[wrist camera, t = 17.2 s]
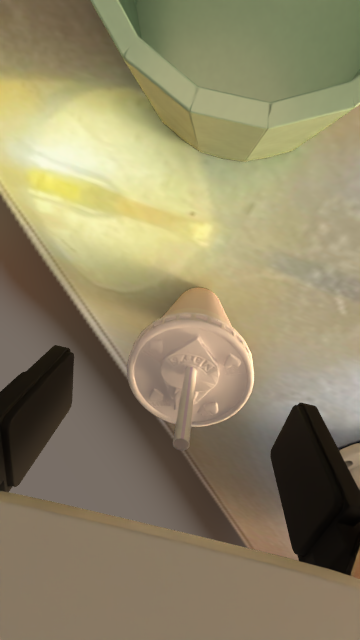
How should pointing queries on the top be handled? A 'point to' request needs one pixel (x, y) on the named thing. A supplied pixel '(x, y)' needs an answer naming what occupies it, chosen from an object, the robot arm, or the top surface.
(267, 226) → the top surface
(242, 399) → the smoothie
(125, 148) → the top surface
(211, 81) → the pot
